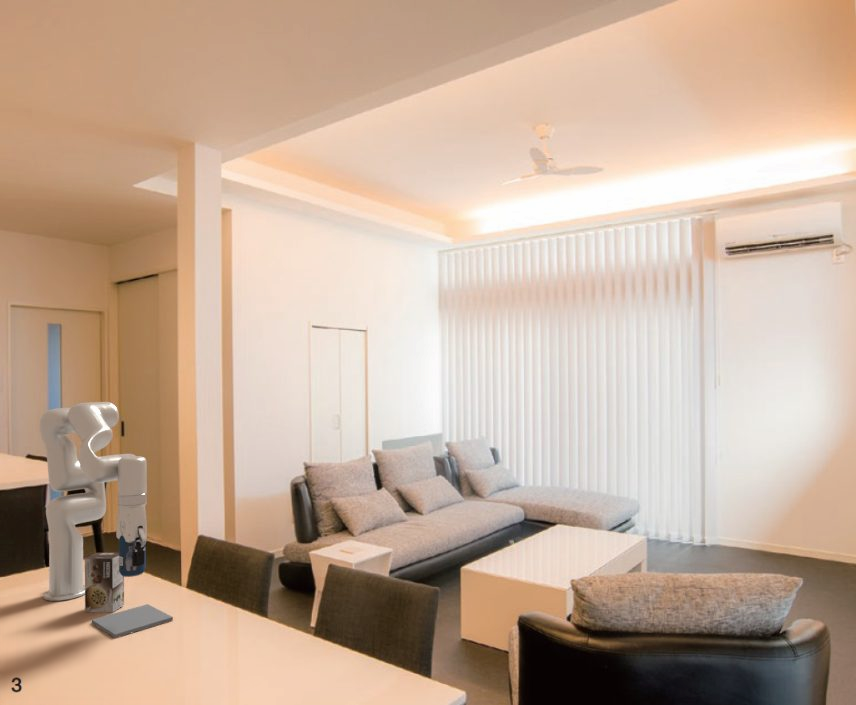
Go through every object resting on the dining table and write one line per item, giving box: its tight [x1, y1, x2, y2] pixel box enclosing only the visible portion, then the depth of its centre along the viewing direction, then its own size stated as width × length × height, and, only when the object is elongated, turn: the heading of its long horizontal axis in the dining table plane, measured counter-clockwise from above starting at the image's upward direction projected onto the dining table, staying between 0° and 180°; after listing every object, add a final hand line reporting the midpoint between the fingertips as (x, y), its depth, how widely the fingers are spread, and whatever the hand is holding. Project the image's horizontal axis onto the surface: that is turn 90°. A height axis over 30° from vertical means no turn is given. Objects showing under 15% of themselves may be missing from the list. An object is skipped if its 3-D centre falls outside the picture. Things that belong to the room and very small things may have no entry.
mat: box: [91, 603, 174, 638], centre depth 183 cm, size 16×16×1 cm
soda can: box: [118, 534, 147, 578], centre depth 184 cm, size 7×7×12 cm
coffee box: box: [84, 552, 125, 613], centre depth 194 cm, size 9×6×16 cm
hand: (132, 562), depth 184 cm, fingers closed on soda can, 6 cm apart
